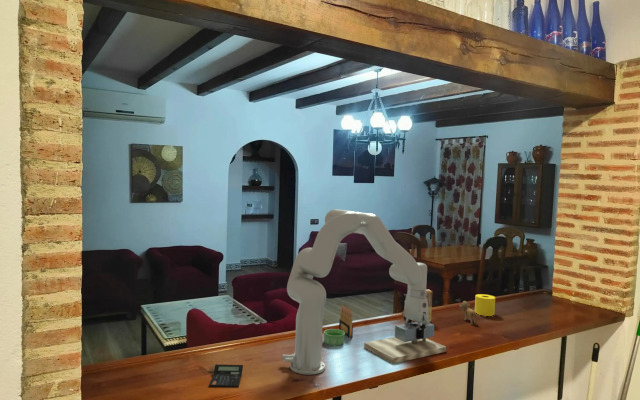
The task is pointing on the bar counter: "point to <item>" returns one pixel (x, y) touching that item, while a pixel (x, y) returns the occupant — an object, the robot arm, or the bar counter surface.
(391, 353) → the board
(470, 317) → the lion figurine
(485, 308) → the yellow cylinder
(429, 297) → the candy box
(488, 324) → the bar counter surface
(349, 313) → the ammunition clip
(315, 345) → the robot arm
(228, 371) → the calculator
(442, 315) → the bar counter surface
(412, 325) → the grey rectangular block
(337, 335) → the ramekin
